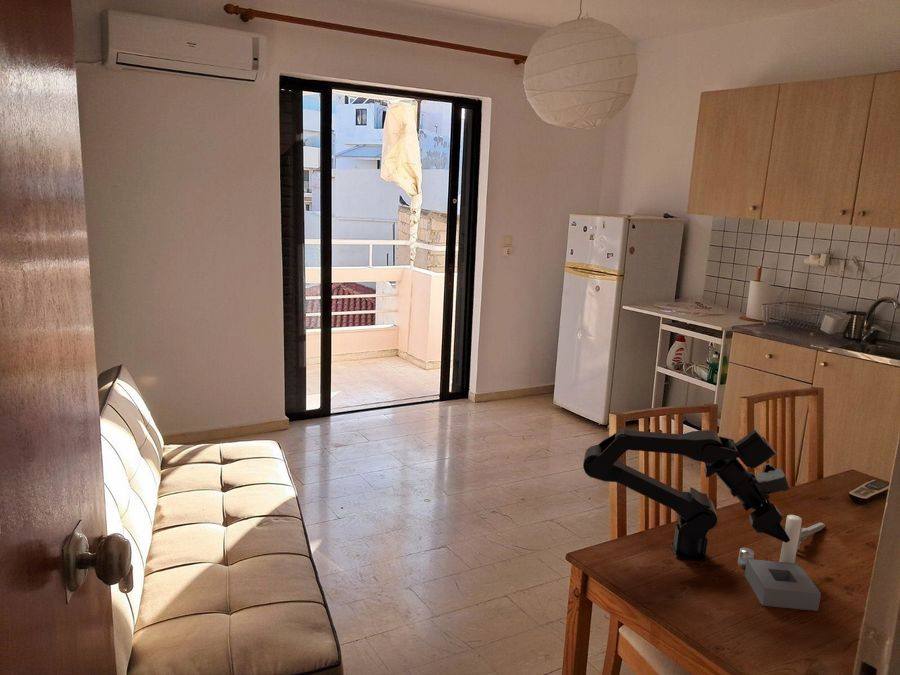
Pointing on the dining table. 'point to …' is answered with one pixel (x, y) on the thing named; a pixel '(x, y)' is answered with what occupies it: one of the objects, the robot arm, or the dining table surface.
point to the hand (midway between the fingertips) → (783, 530)
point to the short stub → (745, 556)
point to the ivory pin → (791, 539)
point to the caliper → (809, 532)
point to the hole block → (782, 585)
